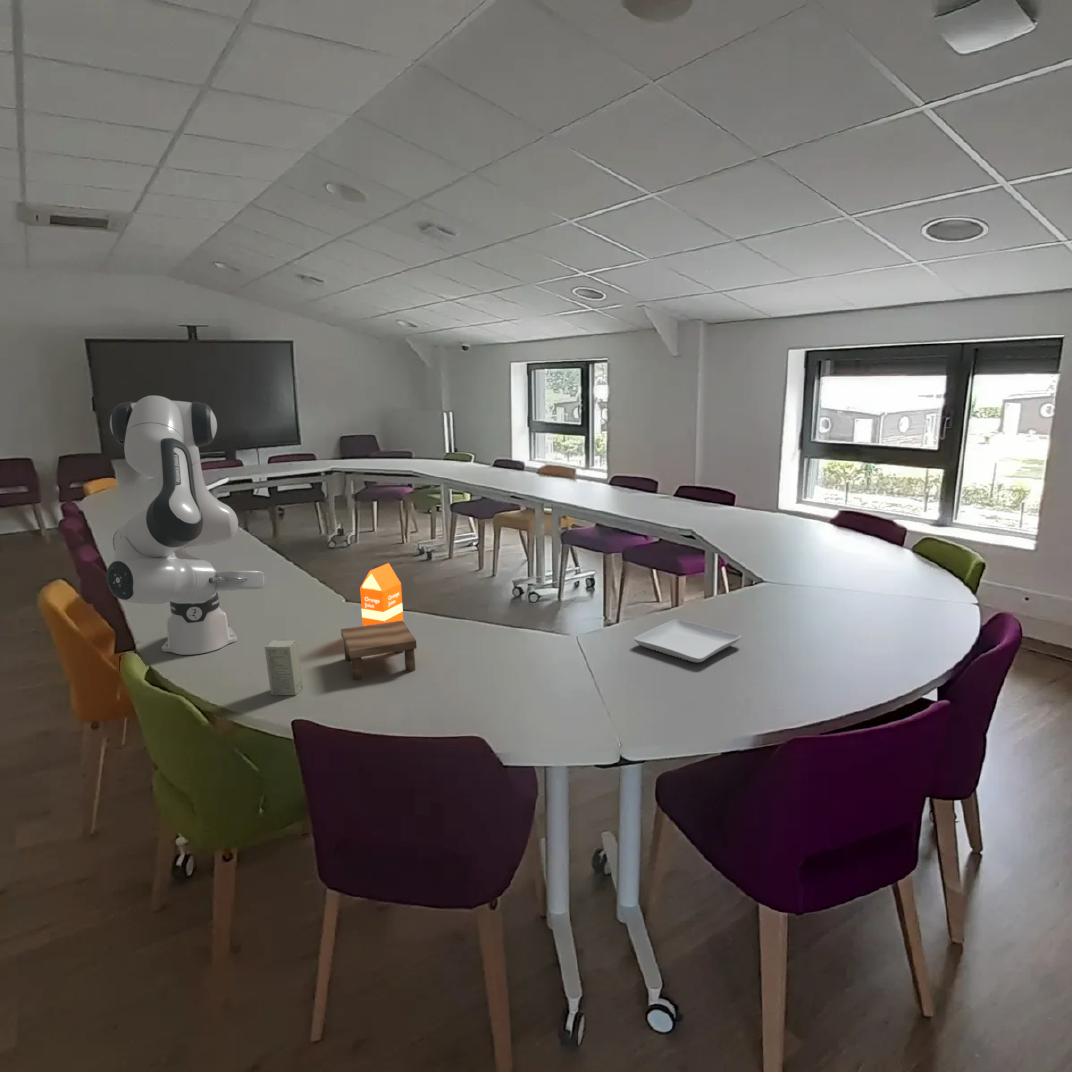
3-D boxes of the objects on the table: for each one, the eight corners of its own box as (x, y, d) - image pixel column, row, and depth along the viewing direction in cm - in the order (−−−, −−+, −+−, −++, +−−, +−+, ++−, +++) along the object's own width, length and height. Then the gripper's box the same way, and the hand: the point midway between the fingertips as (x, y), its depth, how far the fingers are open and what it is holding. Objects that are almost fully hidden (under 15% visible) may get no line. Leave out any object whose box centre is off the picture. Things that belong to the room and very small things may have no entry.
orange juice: (404, 631, 203) (400, 564, 199) (385, 641, 195) (381, 572, 191) (382, 627, 206) (377, 561, 202) (362, 637, 199) (358, 569, 194)
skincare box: (303, 687, 167) (298, 639, 164) (295, 696, 163) (290, 646, 160) (277, 687, 168) (272, 639, 165) (269, 695, 163) (263, 646, 161)
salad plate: (631, 648, 189) (631, 636, 188) (675, 628, 204) (676, 617, 203) (699, 671, 175) (700, 658, 174) (742, 647, 189) (743, 635, 189)
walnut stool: (343, 657, 184) (340, 629, 183) (403, 648, 190) (402, 620, 188) (352, 682, 170) (349, 650, 168) (417, 670, 176) (416, 640, 174)
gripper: (230, 562, 138) (284, 565, 150) (162, 568, 147) (218, 570, 159) (230, 595, 137) (284, 594, 150) (161, 599, 147) (218, 598, 159)
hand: (250, 582), depth 155 cm, fingers open, 8 cm apart
